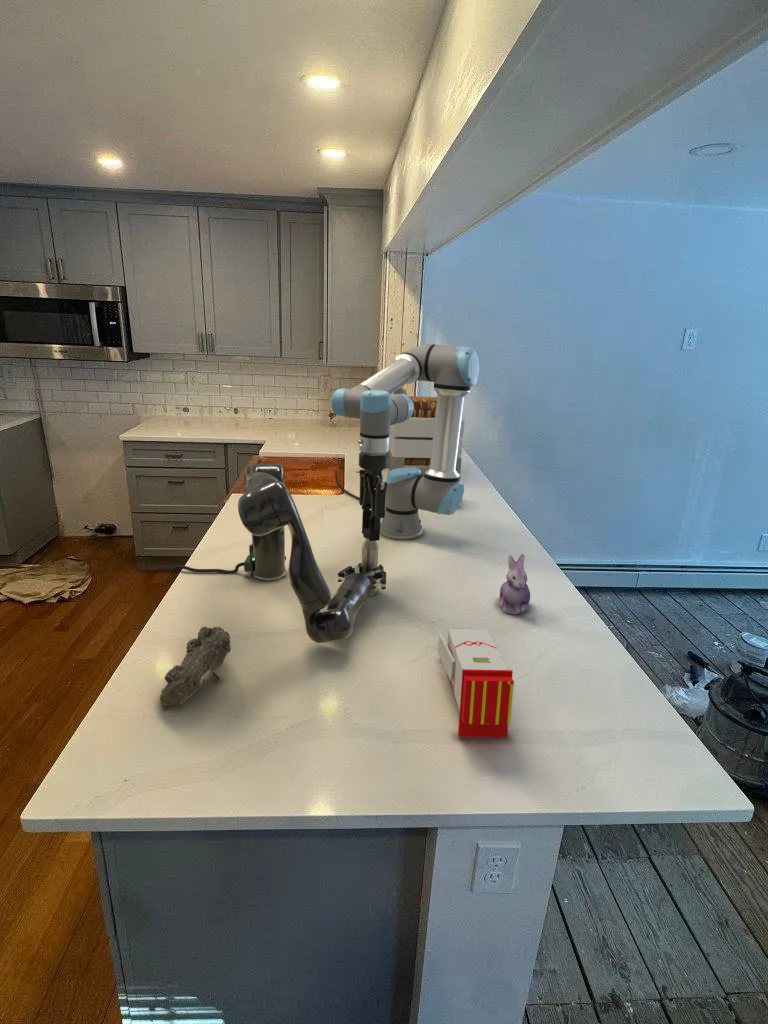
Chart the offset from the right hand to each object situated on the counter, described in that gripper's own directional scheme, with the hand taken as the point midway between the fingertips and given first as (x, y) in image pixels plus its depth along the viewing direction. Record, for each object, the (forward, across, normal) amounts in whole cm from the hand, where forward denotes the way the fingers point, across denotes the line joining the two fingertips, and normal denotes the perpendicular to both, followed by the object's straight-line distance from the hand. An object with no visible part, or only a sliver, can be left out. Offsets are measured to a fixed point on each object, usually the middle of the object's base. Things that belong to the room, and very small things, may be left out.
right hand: (370, 536), depth 153 cm
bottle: (+17, 0, 0) cm, 17 cm away
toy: (+17, +48, +4) cm, 51 cm away
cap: (-2, 0, 0) cm, 2 cm away
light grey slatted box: (+17, -105, +68) cm, 126 cm away
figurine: (+17, +21, +34) cm, 43 cm away
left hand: (+10, -2, +2) cm, 10 cm away
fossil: (+17, +25, -48) cm, 56 cm away
